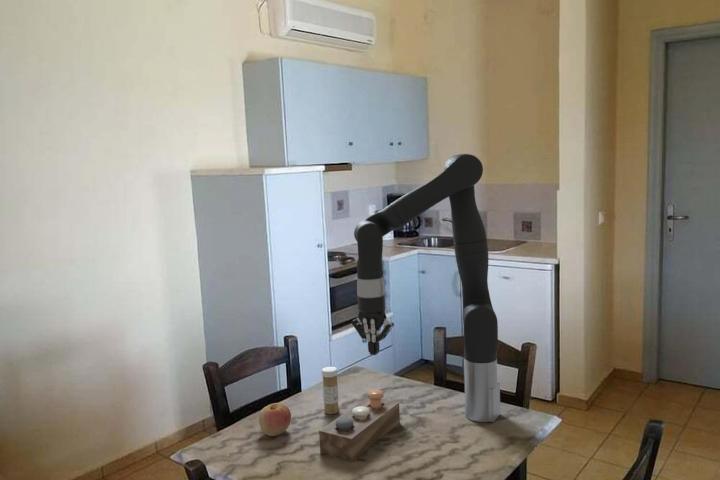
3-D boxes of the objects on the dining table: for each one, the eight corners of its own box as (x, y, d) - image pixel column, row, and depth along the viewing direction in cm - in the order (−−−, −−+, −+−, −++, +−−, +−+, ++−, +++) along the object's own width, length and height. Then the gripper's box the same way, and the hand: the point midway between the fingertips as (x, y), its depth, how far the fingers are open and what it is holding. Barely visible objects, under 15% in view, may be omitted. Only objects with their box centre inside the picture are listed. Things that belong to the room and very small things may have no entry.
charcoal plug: (357, 445, 156) (356, 419, 155) (348, 452, 152) (346, 426, 151) (343, 441, 158) (342, 416, 158) (333, 448, 155) (332, 423, 154)
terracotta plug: (387, 414, 169) (386, 391, 168) (379, 421, 165) (378, 397, 164) (373, 411, 172) (372, 388, 171) (365, 417, 168) (364, 394, 167)
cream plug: (373, 432, 163) (372, 408, 162) (364, 439, 159) (363, 414, 158) (359, 429, 165) (358, 405, 164) (350, 436, 161) (348, 411, 160)
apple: (297, 428, 169) (295, 401, 168) (280, 442, 161) (278, 414, 160) (271, 424, 173) (269, 397, 172) (253, 437, 165) (251, 410, 164)
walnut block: (399, 422, 170) (399, 402, 169) (352, 461, 149) (351, 438, 148) (369, 415, 175) (369, 396, 174) (320, 452, 154) (319, 430, 153)
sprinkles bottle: (333, 407, 183) (331, 365, 181) (342, 411, 179) (340, 368, 177) (321, 411, 180) (318, 368, 178) (330, 416, 176) (327, 372, 174)
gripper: (398, 292, 164) (401, 353, 166) (357, 289, 171) (360, 347, 173) (385, 298, 157) (388, 361, 159) (343, 294, 164) (346, 355, 166)
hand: (373, 354), depth 166 cm, fingers closed
